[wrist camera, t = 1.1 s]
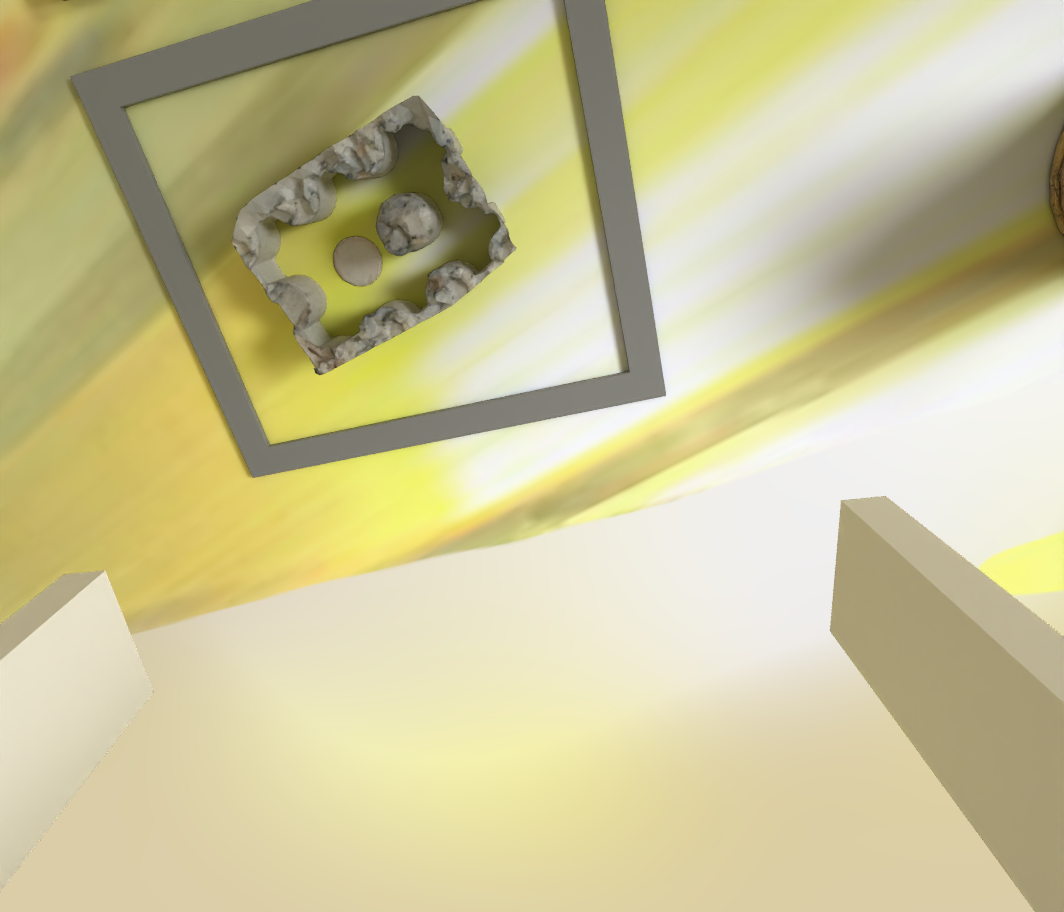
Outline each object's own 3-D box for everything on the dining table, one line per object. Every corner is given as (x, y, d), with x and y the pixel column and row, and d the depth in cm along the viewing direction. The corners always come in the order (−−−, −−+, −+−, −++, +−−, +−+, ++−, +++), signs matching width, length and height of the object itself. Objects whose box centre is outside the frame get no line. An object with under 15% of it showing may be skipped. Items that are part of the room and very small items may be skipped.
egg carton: (341, 361, 31) (310, 388, 28) (246, 220, 29) (198, 228, 25) (529, 256, 29) (522, 270, 25) (443, 90, 26) (421, 78, 22)
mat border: (590, -84, 23) (591, -87, 23) (665, 393, 31) (666, 395, 30) (75, 77, 26) (70, 76, 26) (255, 475, 34) (252, 477, 34)
